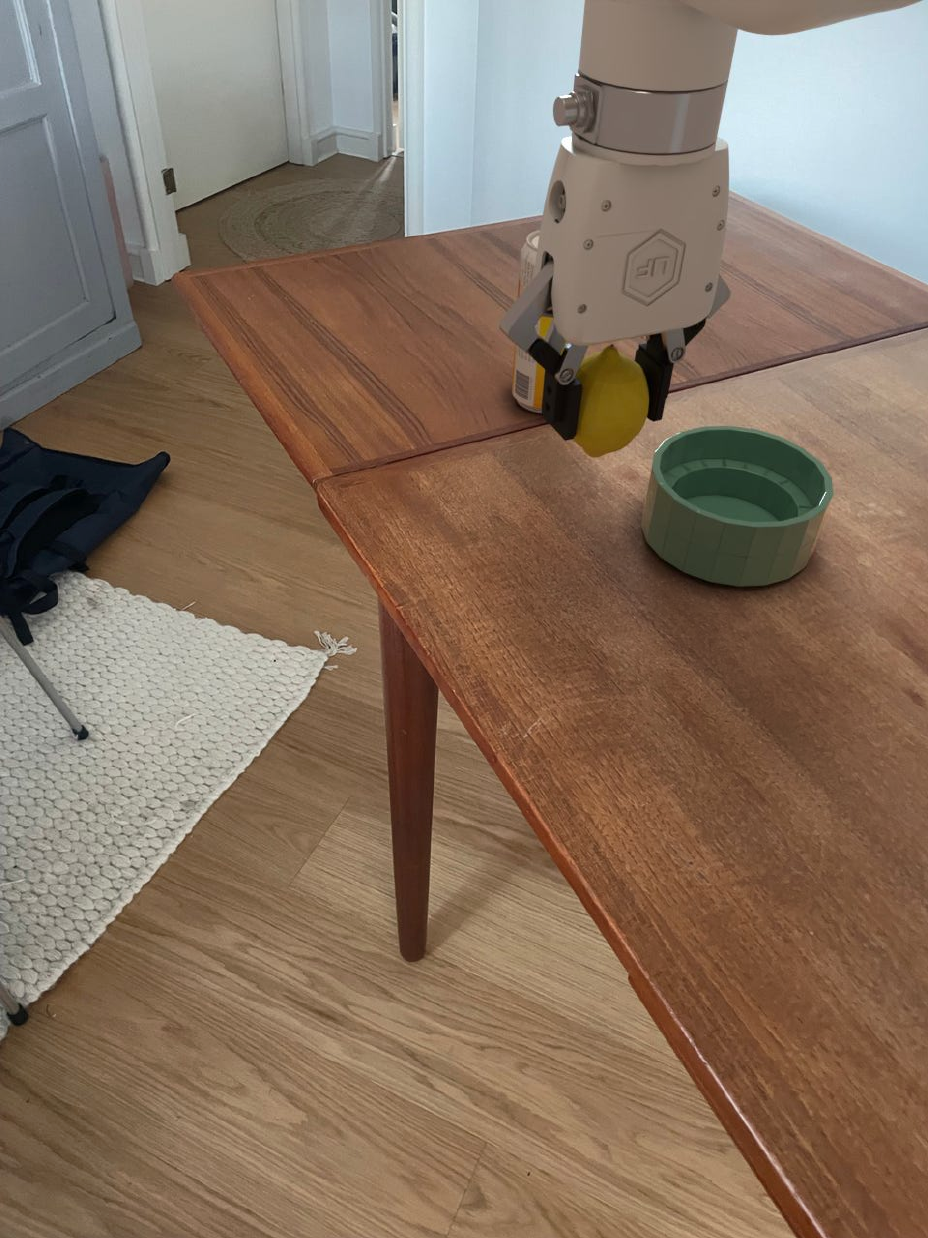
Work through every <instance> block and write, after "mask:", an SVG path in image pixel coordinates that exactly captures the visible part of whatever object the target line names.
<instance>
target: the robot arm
mask: <svg viewBox="0 0 928 1238" xmlns="http://www.w3.org/2000/svg"><path fill="white" fill-rule="evenodd" d="M922 1H923V0H584V5H583V14H582V15H583V17H582V24H581V25H582V26H581V37H580V46H579V47H580V48H579V59H578V60H579V61H578V69H577V73H576V74H574V78H573V79H574V80H573V90H572V92H569V93H568V94H567V95H563V96H556V98H555V99H554V101H553V104H552V117H553V121H554V123H555V125H556V126H557V127H565V126H566V127H567V126H568V127H569V130H570V131H571V136H568V137H564V138H562V139H561V142H560V144H559V149H558V152H557V154H556V158H555V161H554V164H553V168H552V172H551V176H550V180H549V183H548V188H547V193H546V197H545V202H544V206H543V211H542V216H541V222H540V228H539V230H540V235H539V241H538V248H537V256H536V264H535V274H534V279H533V281H532V282H531V283H530V284H529V285H528V287H527V288H526V289H525V290H524V292H523V293H522V294H521V295H520V297H519V298H518V297H517V298H516V300H515V301H514V303H513V304H512V305H511V306H510V308H509V309H508V310H507V311H506V313H505V314H504V315H503V317H502V318H501V319H500V321H499V322H498V323H499V324H498V326H499V330H500V331H501V332H502V334H504V335H505V337H507V338H508V340H510V342H512V343H513V344H514V345H515V344H516V345H517V346H518V347H520V348H521V349H522V350H523V351H525V352H526V353H527V354H529V355H530V356H531V357H532V358H533V359H534V360H535V361H536V362H537V363H539V364H540V365H541V366H542V367H543V368H544V369H545V376H544V387H543V398H542V413H541V414H542V415H541V416H542V418H543V419H544V420H545V422H546V423H547V424H548V425H549V426H551V428H552V429H554V431H555V432H556V433H557V434H558V435H559V436H560V437H561V438H562V440H563V441H565V442H566V441H573V439H574V437H575V436H576V435H577V427H578V419H579V411H580V403H581V395H582V384H581V382H580V381H579V380H578V379H577V378H576V377H575V376H576V374H577V371H578V369H579V367H580V364H581V362H582V360H583V359H584V358H585V356H586V353H587V351H588V348H589V347H590V346H596V345H602V344H608V343H614V342H620V341H624V340H631V339H636V338H642V337H645V340H646V343H640V344H638V347H637V349H636V351H635V356H634V361H635V362H636V363H637V364H639V365H640V367H641V369H642V371H643V373H644V375H645V378H646V381H647V385H648V392H649V406H648V414H647V418H646V419H648V420H649V421H651V422H653V423H654V422H658V421H661V420H662V419H663V416H664V412H665V408H666V407H665V406H666V402H667V398H668V397H669V392H670V386H671V382H672V378H673V377H672V376H673V371H674V367H675V366H674V365H675V364H678V363H679V362H681V361H682V360H683V359H684V358H685V356H686V352H687V348H686V347H687V346H688V345H689V344H690V343H691V341H692V340H693V339H695V338H696V336H697V335H698V334H699V333H700V332H701V331H702V330H703V329H704V327H705V326H706V323H707V319H711V318H712V317H713V316H714V315H715V314H716V313H717V312H718V311H719V310H720V309H721V308H722V307H723V306H724V305H725V304H726V303H727V302H728V301H729V300H730V298H731V294H732V291H731V289H730V287H729V286H728V285H727V283H726V281H725V279H724V278H723V277H722V275H721V274H720V271H721V266H722V259H723V254H724V245H725V236H726V230H727V229H726V228H727V219H728V218H727V217H728V212H729V211H728V209H729V193H730V155H729V152H730V151H729V144H728V142H727V141H726V140H724V139H723V138H720V137H718V135H719V130H720V124H721V119H722V116H723V110H724V103H725V100H726V99H725V98H726V94H727V89H728V84H729V80H730V79H729V78H730V73H731V68H732V62H733V57H734V51H735V48H736V47H735V46H736V43H737V42H736V41H737V38H738V31H739V30H740V31H743V32H746V33H750V34H754V35H761V36H785V35H786V36H787V35H790V34H791V35H793V34H798V33H802V32H806V31H810V30H814V29H819V28H824V27H828V26H829V27H830V26H831V25H835V24H838V23H841V22H846V21H850V20H854V19H859V18H863V17H867V16H871V15H875V14H880V13H886V12H891V11H896V10H901V9H904V8H906V7H909V6H913V5H914V4H917V3H921V2H922ZM542 316H544V317H550V318H553V319H552V322H551V324H550V326H549V329H548V331H547V334H546V336H545V339H543V338H542V337H541V336H540V335H539V334H538V333H537V332H535V325H536V323H537V322H538V320H539V319H540V318H541V317H542ZM566 341H567V343H566ZM565 343H566V345H565ZM564 345H565V347H564ZM563 348H564V350H563ZM562 350H563V352H562ZM561 352H562V355H561Z"/></svg>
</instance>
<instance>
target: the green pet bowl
mask: <svg viewBox="0 0 928 1238" xmlns="http://www.w3.org/2000/svg"><path fill="white" fill-rule="evenodd" d="M646 487H647V488H646V493H645V498H644V504H643V509H642V514H641V520H640V521H641V522H640V527H641V531H642V533H643V535H644V539H645V541H646V543H647V544H648V545H649V547H651V549H652V550H653V551H654V552H655V553H656V555H658V557H660V558H661V560H664V561H665V562H667V563H668V564H670V565H672V566H673V567H674V568H676V569H678V570H679V571H681V572H683V573H685V574H687V575H689V576H692V577H696V578H698V579H701V580H703V581H706V582H710V583H715V584H720V585H727V586H732V587H733V586H734V587H739V588H740V587H759V586H761V587H762V586H769V585H772V584H775V583H779V582H783V581H786V580H789V579H791V578H792V577H793V576H794V575H796V574H797V573H800V571H802V570H804V568H806V567H807V564H808V563H809V561H810V559H811V557H812V556H813V553H814V550H815V548H816V545H817V542H818V540H819V536H820V533H821V531H822V529H823V525H824V522H825V520H826V517H827V515H828V512H829V509H830V506H831V503H832V500H833V498H834V495H835V494H834V485H833V477H832V476H831V475H830V473H829V471H828V469H827V468H826V467H825V465H824V463H823V462H822V461H820V460H819V459H818V458H817V457H816V456H814V455H813V454H812V453H811V452H809V451H808V450H807V449H806V448H804V447H802V446H801V445H799V444H796V443H795V442H792V441H790V440H788V439H787V438H785V437H782V436H779V435H776V434H774V433H771V432H767V431H763V430H760V429H755V428H748V427H742V426H735V425H704V426H700V427H694V428H690V429H687V430H682V431H680V432H678V433H675V434H674V435H672V436H669V437H668V438H666V439H664V440H663V441H662V443H661V444H660V445H659V446H658V448H657V449H656V450H654V452H653V456H652V462H651V466H650V472H649V477H648V481H647V486H646Z"/></svg>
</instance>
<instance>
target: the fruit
mask: <svg viewBox="0 0 928 1238" xmlns="http://www.w3.org/2000/svg"><path fill="white" fill-rule="evenodd" d="M575 377H576V378H577V379H578V380H579V381H580V382H581V384H582V395H581V403H580V411H579V419H578V427H577V435H576V436H575V437H574V439H572V441H574V442H575V443H576V444H577V445H578V446H579V447H580V448H582V450H583V452H584V453H585V454H586V455H587V456H589V457H591V458H601V457H603V456H605V455H606V454H611V453H615V452H617V451H620V450H622V449H624V448H625V447H627V446H628V445H630V444H631V443H632V442H633V441H634V440H635V438H636V437H637V436H638V435H639V434H640V433H641V431H642V429H643V427H644V425H645V423H646V420H647V419H648V418H647V414H648V406H649V392H648V385H647V381H646V378H645V375H644V373H643V371H642V369H641V367H640V365H639V364H637V363H636V362H635V359H632V358H631V357H629V356H628V355H625V354H624V353H621V352H619V350H618V348H617V346H615V345H614V344H613V343H611V344H609V345H606V346H605V347H604V348H603V349H602V351H597V352H594V353H592V354H589V355H586V356H584V358H583V360H582V362H581V364H580V367H579V369H578V371H577V374H576V376H575Z"/></svg>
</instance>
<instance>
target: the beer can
mask: <svg viewBox="0 0 928 1238" xmlns="http://www.w3.org/2000/svg"><path fill="white" fill-rule="evenodd" d="M539 235H540V229H539V230H535V231H533V232H531V233H529V234H528V235H527V236H526V238H525V239H526V241H525V242H524V244H523V246H522V248H521V250H520V256H519V257H520V259H519V273H518V287H517V288H518V289H517V290H518V291H517V292H518V293H517V299H518V298H519V297H520V295H521V294H522V293H523V292H524V290H525V289H526V288H527V287H528V285H529V284H530V283H531V282H532V281H533V279H534V274H535V264H536V256H537V248H538V241H539ZM552 319H553V318H550V317H544V316H542V317H541V318H540V319H539V320H538V322H537V323H536V325H535V332H537V333H538V334H539V335H540V336H541V337H542V338H543V339H545V336H546V334H547V331H548V329H549V326H550V324H551V322H552ZM566 343H567V341H566ZM566 343H565V345H566ZM565 345H564V347H565ZM563 350H564V348H563ZM563 350H562V352H563ZM562 352H561V355H562ZM512 365H513V367H512V382H511V393H512V396H513V398H514V399H515V400H516V401H517V403H518V405H519V406H521V408H522V409H525V410H527V411H530V412H532V413H538V414H542V398H543V387H544V376H545V369H544V368H543V367H542V366H541V365H540V364H539V363H537V362H536V361H535V360H534V359H533V358H532V357H531V356H530V355H529V354H527V353H526V352H525V351H523V350H522V349H521V348H520V347H518V346H517V345H516V344H515V343H514V351H513V364H512Z"/></svg>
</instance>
